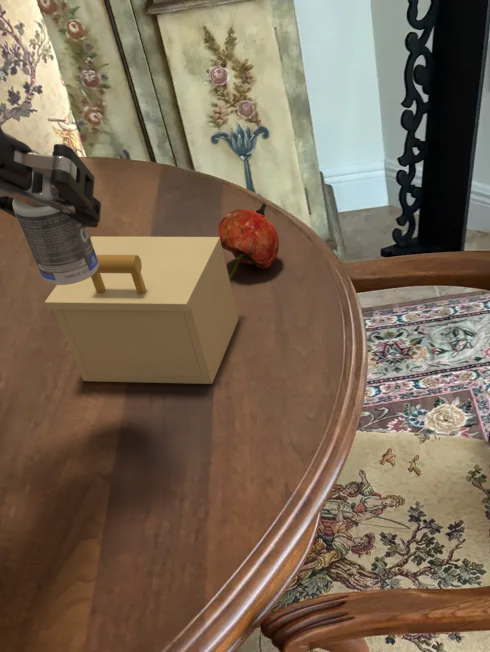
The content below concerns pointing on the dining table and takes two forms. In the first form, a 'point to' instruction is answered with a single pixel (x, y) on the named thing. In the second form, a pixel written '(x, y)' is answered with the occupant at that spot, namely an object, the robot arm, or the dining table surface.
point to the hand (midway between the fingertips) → (63, 213)
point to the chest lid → (140, 274)
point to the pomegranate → (249, 237)
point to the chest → (156, 337)
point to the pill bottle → (57, 243)
